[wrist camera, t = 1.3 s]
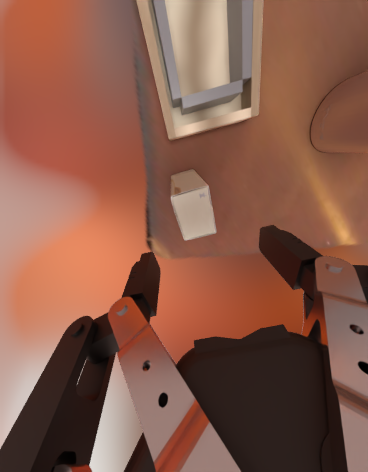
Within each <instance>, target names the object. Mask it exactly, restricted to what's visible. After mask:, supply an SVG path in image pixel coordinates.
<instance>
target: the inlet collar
mask: <svg viewBox="0 0 368 472" xmlns="http://www.w3.org/2000/svg"><path fill="white" fill-rule="evenodd" d="M151 2H152V7H153V11H154V16H155V21H156V26H157V31H158V36H159V41H160V46H161V51H162V56H163V61H164V66H165V71H166V76H167V81H168V86H169V91H170V96H171V101H172V106H173V108H176V107H180V109H181V115H185V114H189V113H192V112H196V111H200V110H203V109H207V108H210V107H214V106H217V105H221V104H224V103H228V102H231V101H232V100H233V99H234V98H236V97H237V96H238V95H239V94H240V93H242V92H243V84H244V83H246V82H247V81H248V80H249V79H250V78H251V77H252V25H253V0H227V21H228V47H229V73H230V83H229V84H225V85H222V86H218V87H215V88H212V89H208V90H205V91H201V92H198V93H194V94H191V95H187V96H184V97H181V92H180V86H179V80H178V74H177V69H176V63H175V57H174V51H173V45H172V40H171V34H170V28H169V22H168V16H167V11H166V5H165V0H151Z"/></svg>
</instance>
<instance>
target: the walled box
mask: <svg viewBox="0 0 368 472" xmlns="http://www.w3.org/2000/svg"><path fill="white" fill-rule="evenodd" d="M136 1H137V5H138V9H139V13H140V18H141V22H142V26H143V31H144V35H145V39H146V43H147V48H148V52H149V56H150V61H151V65H152V69H153V73H154V78H155V82H156V86H157V90H158V95H159V99H160V103H161V108H162V112H163V116H164V120H165V125H166V129H167V133H168V137H169V141H172V140H176V139H179V138H183V137H187V136H190V135H194V134H198V133H201V132H205V131H209V130H213V129H216V128H220V127H224V126H227V125H231V124H235V123H238V122H242V121H246V120H248V119H250V118H253V117H255V116H258V115H259V98H260V74H261V50H262V27H263V3H264V0H253V25H252V77H251V78H250V79H249V80H248V81H247V82H246V83H244V84H243V92H242V93H240V94H239V95H238V96H237V97H236V98H234V99H233V100H232V101H231V102H228V103H224V104H221V105H217V106H214V107H210V108H207V109H203V110H200V111H196V112H192V113H189V114H185V115H181V109H180V107H176V108H173V106H172V101H171V96H170V91H169V86H168V81H167V76H166V71H165V66H164V61H163V56H162V51H161V46H160V41H159V36H158V31H157V26H156V21H155V16H154V11H153V7H152V2H151V0H136ZM165 5H166V11H167V16H168V22H169V28H170V34H171V40H172V45H173V51H174V57H175V63H176V69H177V74H178V80H179V86H180V92H181V97H184V96H187V95H191V94H194V93H198V92H201V91H205V90H208V89H212V88H215V87H218V86H222V85H225V84H229V83H230V73H229V47H228V21H227V0H165Z"/></svg>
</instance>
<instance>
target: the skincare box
mask: <svg viewBox="0 0 368 472" xmlns="http://www.w3.org/2000/svg"><path fill="white" fill-rule="evenodd" d="M171 202H172V205H173V209H174V212H175V215H176V218H177V221H178V224H179V227H180V230H181V233H182V235H183V238H184V240H185V241H186V240H190V239H194V238H199V237H203V236H207V235H211V234H215V233H216V226H215V219H214V213H213V207H212V202H211V196H210V190H209V186H208V185H207V184H206V182H205V181H204V180H203V179H202V178H201V177H200V176H199V175H198V174H197V173H196V171H195V170H194V169H191V170H187V171H184V172H180V173H177V174H174V175H172V176H171Z"/></svg>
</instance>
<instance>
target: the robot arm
mask: <svg viewBox="0 0 368 472" xmlns="http://www.w3.org/2000/svg"><path fill="white" fill-rule="evenodd" d="M311 141H312V144H313V146H314V147H315V148H316V149H317V150H319V151H321V152H336V153H368V71H366V72H363V73H361V74H359V75H356V76H354V77H351V78H349V79H347V80H345V81H343V82H342V83H340V84H339V85H338V86H336V87H335V88H334V89H333V90H332V91H331V92H330V93H329V94H328V95H327V96H326V98H325V99H324V100H323V101H322V103H321V105H320V106H319V108H318V110H317V112H316V114H315V116H314V119H313V122H312V126H311ZM259 248H260V251H261V253H262V254H263V255H264V256H265V257H266V259H267V260H268V261H269V262H270V263H271V264H272V266H273V267H274V268H275V269H276V270H277V271H278V273H279V274H280V275H281V276H282V277H283V278H284V279H285V281H286V282H287V283H288V284H289V285H290V287H291V288H292V289H293V290H295V289H300V288H302V289H303V290H304V294H303V329H302V335H300V334H297V333H293V332H288V331H287V330H286V328H285V327H284V325H283V324H282V325H277V326H272V327H266V328H260V329H259V330H257V331H255V332H253V333H251V334H249V335H248V336H246V337H244V338H242V339H231V338H223V337H210V338H205V339H199V340H195V341H194V346H195V347H194V348H192V349H191V350H189V351H188V352H187V353H186V354H185V355H184V356H183V357H182V358H181V359H180V360H179V361H178V363H177V364H176V363H175V362H174V360H173V359H172V357H171V356H170V354H169V353H168V352H167V350H166V348H165V347H164V345H163V344H162V342H161V341H160V339H159V337H158V336H157V334H156V333H155V332H154V330H153V328H152V327H151V325H150V324H149V322H150V317H152V316H156V311H157V303H158V293H159V283H160V267H159V265H158V262H157V260H156V258H155V255H154V253H153V252H148V253H144V254H142V255H141V258H140V261H139V262H136V263H135V264H134V266H133V267H132V269H131V272H130V275H129V279H128V281H127V284H126V286H125V289H124V292H123V295H122V298H121V299H119V300H118V301H116V302H115V303H114V304H113V305H112V306H111V308H110V310H109V312H108V313H106V314H104V315H102V316H100V317H98V318H96V319H94V320H93V319H92V318H91V317H90V316H83V317H81V318H79V319H77V320H76V321H75V322H73V323H72V324H71V325H70V326H69V327H68V328H67V330H66V331H65V333H64V334H63V336H62V338H61V340H60V342H59V344H58V345H57V347H56V349H55V351H54V353H53V354H52V356H51V358H50V360H49V362H48V363H47V365H46V367H45V369H44V371H43V373H42V374H41V376H40V378H39V380H38V382H37V384H36V385H35V387H34V389H33V391H32V393H31V394H30V396H29V398H28V400H27V402H26V403H25V406H24V407H23V409H22V411H21V413H20V415H19V416H18V418H17V420H16V422H15V424H14V425H13V427H12V429H11V431H10V433H9V435H8V436H7V438H6V440H5V442H4V444H3V445H2V447H1V449H0V472H92V470H91V468H90V467H89V464H90V460H91V455H92V451H93V447H94V443H95V438H96V434H97V430H98V425H99V421H100V418H101V413H102V409H103V405H104V400H105V396H106V392H107V388H108V384H109V380H110V375H111V371H112V367H113V363H114V359H115V354H116V352H118V353H117V355H118V359H119V362H120V365H121V368H122V371H123V373H124V377H125V380H126V383H127V385H128V388H129V391H130V394H131V397H132V400H133V403H134V406H135V409H136V412H137V415H138V418H139V421H140V424H141V426H142V429H143V433H142V435H141V437H140V439H139V441H138V443H137V445H136V447H135V450H134V451H133V454H132V456H131V458H130V460H129V462H128V464H127V466H126V468H125V470H124V472H368V266H365V265H351V264H350V263H348V262H347V261H344V260H342V259H339V258H336V257H331V256H322V255H321V254H320V253H318V252H317V251H315V250H314V249H313V248H311V247H310V246H308V245H307V244H306V243H304V242H302V241H301V240H300V239H297V237H296V236H294V235H293V234H291V233H289V232H286V231H284V230H280V229H278V228H277V227H276V226H274V225H270V226H266V227H262V228H261V229H260V237H259ZM85 360H86V363H85ZM84 363H85V365H84ZM83 366H84V368H83ZM82 368H83V371H82ZM81 371H82V373H81ZM80 374H81V376H80ZM79 377H80V379H79ZM78 379H79V381H78ZM77 382H78V384H77Z"/></svg>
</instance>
